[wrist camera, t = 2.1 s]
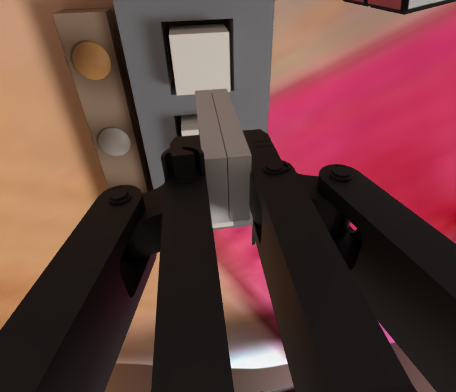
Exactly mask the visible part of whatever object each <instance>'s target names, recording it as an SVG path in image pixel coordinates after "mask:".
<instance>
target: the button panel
mask: <svg viewBox="0 0 456 392" xmlns="http://www.w3.org/2000/svg"><path fill="white" fill-rule="evenodd" d="M274 2H275V0H113V4H114V9H115V14H116V18H117V23H118V28H119V32H120V37H121V41H122V46H123V51H124V55H125V60H126V65H127V69H128V74H129V78H130V83H131V88H132V92H133V97H134V101H135V106H136V111H137V115H138V120H139V125H140V129H141V134H142V138H143V143H144V148H145V152H146V157H147V162H148V166H149V171H150V175H151V180H152V185H153V189H156V188H158V187H160V186H161V185H163V184H164V183H165V178H164V173H163V167H162V162H161V155H162V153H163V152H164V151H166V150H167V149H169V148H170V143H171V141H172V140H173V139H174V138H175V137H178V136H179V130H178V122H177V116H179V115H192V114H197V109H196V98H195V94H192V95H177V94H176V86H175V81H172V78H171V71H170V63H169V56H168V48H167V41H166V34H165V26H164V22H170V21H191V20H211V19H227V26H228V31H229V47H230V92H228V93H229V96H230V99H231V101H232V104H233V107H234V109H235V112H236V115H237V117H238V120H239V123H240V126H241V128H242V130H255V129H261V130H262V131H264V132H265V133H267V128H268V110H269V92H270V74H271V56H272V38H273V20H274ZM251 225H253V217H252V214H251V210H250V220H245V221H235V222H233V226H228V227H218V228H213V229H222V228H232V227H241V226H251Z"/></svg>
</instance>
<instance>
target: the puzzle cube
mask: <svg viewBox="0 0 456 392" xmlns="http://www.w3.org/2000/svg"><path fill="white" fill-rule="evenodd" d="M343 1H345V2H349V3H354V4H359V5H363V6H370V7H372V8H376V9H381V10H386V11H390V12H395V13H399V14H404V15H405V14H408V13H412V12H416V11H420V10H424V9H428V8H432V7H436V6H439V5H443V4H447V3H451V2H455V1H456V0H343Z"/></svg>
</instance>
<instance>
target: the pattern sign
mask: <svg viewBox="0 0 456 392" xmlns="http://www.w3.org/2000/svg"><path fill="white" fill-rule="evenodd" d="M52 16H53V19H54V22H55V25H56V28H57V31H58V34H59V37H60V40H61V43H62V46H63V49H64V52H65V58H66V61H67V64H68V66H69V68H70V71H71V74H72V77H73V80H74V83H75V86H76V89H77V92H78V95H79V98H80V102H81V105H82V108H83V111H84V114H85V117H86V120H87V123H88V126H89V129H90V132H91V135H92V141H93V144H94V145H95V148H96V151H97V154H98V157H99V160H100V163H101V166H102V169H103V172H104V175H105V178H106V181H107V185H108V188H111V187H114V186H118V185H133V186H136V187H138V188H139V189H140V190H141V192H142V193H145V192H148V191H151V190H152V189H151V185H150V180H149V176H148V171H147V167H146V162H145V158H144V153H143V149H142V144H141V140H140V135H139V131H138V126H137V122H136V117H135V113H134V108H133V104H132V99H131V95H130V90H129V86H128V81H127V77H126V72H125V67H124V63H123V58H122V54H121V49H120V45H119V40H118V36H117V31H116V27H115V22H114V18H113V13H112V9H111V8H99V9H76V10H61V11H58V12H56V13H53V14H52Z"/></svg>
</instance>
